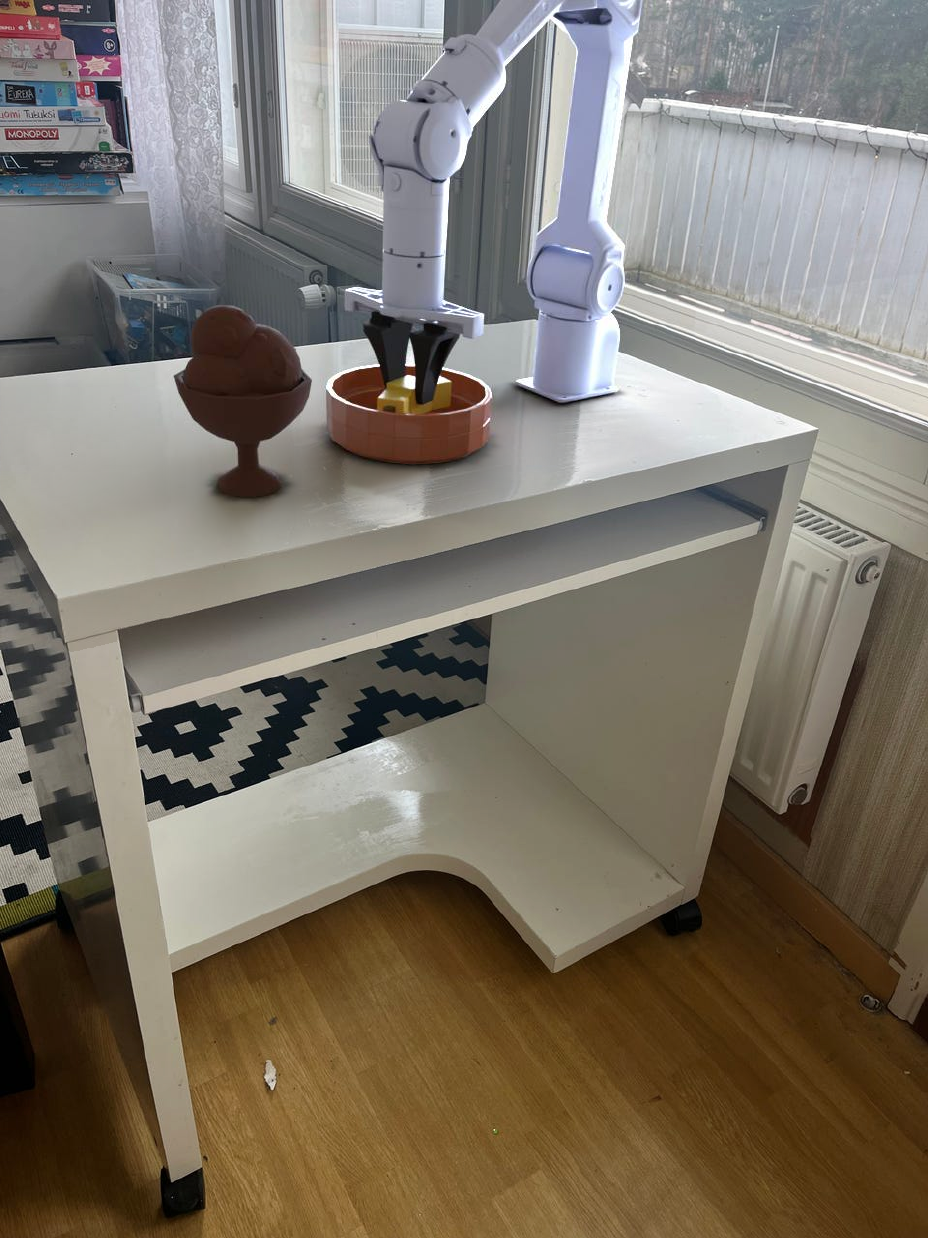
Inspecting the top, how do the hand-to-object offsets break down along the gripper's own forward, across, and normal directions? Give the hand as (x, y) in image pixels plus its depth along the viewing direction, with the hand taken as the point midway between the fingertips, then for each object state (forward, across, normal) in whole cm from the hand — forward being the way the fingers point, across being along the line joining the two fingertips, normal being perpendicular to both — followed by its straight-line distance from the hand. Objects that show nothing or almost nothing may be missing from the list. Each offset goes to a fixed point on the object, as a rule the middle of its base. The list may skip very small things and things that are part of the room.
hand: (409, 397), depth 93 cm
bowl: (+4, 0, 0) cm, 4 cm away
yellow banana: (+1, 0, 0) cm, 1 cm away
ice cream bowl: (+4, -4, -19) cm, 20 cm away
